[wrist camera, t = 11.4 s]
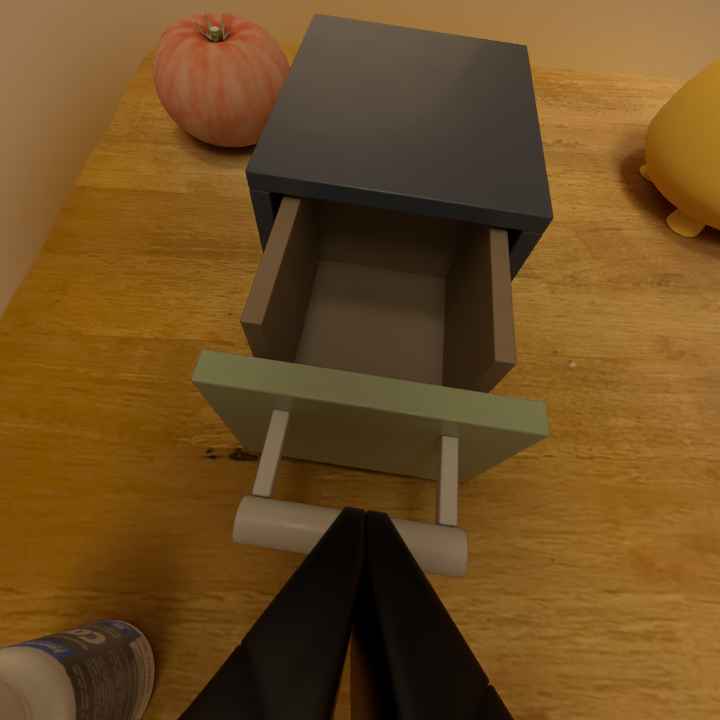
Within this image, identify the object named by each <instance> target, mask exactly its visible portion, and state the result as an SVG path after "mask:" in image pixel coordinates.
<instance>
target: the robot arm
mask: <svg viewBox="0 0 720 720" xmlns="http://www.w3.org/2000/svg"><path fill="white" fill-rule="evenodd" d="M350 635H351V640H350ZM349 640H350V686H351V720H514V719H513V717H512V716H511V714H510V713H509V711H508V709H507V708H506V706H505V705H504V703H503V701H502V700H501V698H500V696H499V695H498V693H497V692H496V690H495V688H494V687H493V686H492V685H488V684H489V679H488V677H487V676H486V674H485V672H484V671H483V669H482V667H481V666H480V664H479V662H478V661H477V659H476V658H475V656H474V654H473V653H472V651H471V649H470V648H469V646H468V645H467V643H466V641H465V640H464V638H463V636H462V635H461V633H460V631H459V630H458V628H457V627H456V625H455V623H454V622H453V620H452V618H451V617H450V615H449V614H448V612H447V610H446V609H445V607H444V605H443V604H442V602H441V600H440V599H439V597H438V596H437V594H436V592H435V591H434V589H433V587H432V586H431V584H430V582H429V581H428V579H427V578H426V576H425V574H424V573H423V571H422V569H421V568H420V566H419V565H418V563H417V561H416V560H415V558H414V556H413V555H412V553H411V551H410V550H409V548H408V547H407V545H406V543H405V542H404V540H403V538H402V537H401V535H400V533H399V532H398V530H397V529H396V527H395V525H394V524H393V522H392V520H391V519H390V517H389V516H388V514H386V513H384V512H378V511H371V510H368V511H367V512H366V513H365V511H364V510H363V509H358V508H352V507H345V508H344V509H343V510H342V511H341V512H340V514H339V515H338V516H337V518H336V519H335V520H334V522H333V523H332V524H331V525H330V527H329V528H328V529H327V531H326V532H325V533H324V534H323V536H322V537H321V538H320V540H319V541H318V542H317V544H316V545H315V546H314V547H313V549H312V550H311V551H310V553H309V554H308V555H307V557H306V558H305V559H304V560H303V562H302V563H301V564H300V566H299V567H298V568H297V570H296V571H295V572H294V573H293V575H292V576H291V577H290V579H289V580H288V581H287V582H286V584H285V585H284V586H283V588H282V589H281V590H280V592H279V593H278V594H277V595H276V597H275V598H274V599H273V601H272V602H271V603H270V605H269V606H268V607H267V608H266V610H265V611H264V612H263V614H262V615H261V616H260V617H259V619H258V620H257V621H256V623H255V624H254V625H253V627H252V628H251V629H250V630H249V632H248V633H247V634H246V636H245V637H244V638H243V640H242V641H241V645H238V646H237V647H236V648H235V649H234V651H233V652H232V653H231V655H230V656H229V657H228V659H227V660H226V661H225V662H224V664H223V665H222V666H221V668H220V669H219V670H218V671H217V673H216V674H215V675H214V676H213V678H212V679H211V680H210V681H209V682H208V684H207V685H206V686H205V687H204V689H203V690H202V691H201V692H200V693H199V695H198V696H197V697H196V698H195V700H194V701H193V702H192V703H191V704H190V706H189V707H188V708H187V709H186V710H185V711H184V713H183V714H182V715H181V716H180V717H179V718H178V719H177V720H333V719H334V714H335V709H336V704H337V699H338V694H339V690H340V685H341V680H342V675H343V670H344V666H345V661H346V656H347V651H348V645H349Z"/></svg>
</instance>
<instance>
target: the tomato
mask: <svg viewBox="0 0 720 720" xmlns="http://www.w3.org/2000/svg"><path fill="white" fill-rule="evenodd" d="M289 70H290V66H289V63H288V60H287V58H286V56H285V54H284V52H283V51H282V49H281V48H280V46H279V44H278V43H277V42H276V40H275V39H274V38H273V37H272V36H271V35H270V34H269V33H268V32H267V31H266V30H265V29H263V28H262V27H260V26H258V25H256V24H254V23H252V22H250V21H248V20H246V19H244V18H241V17H238V16H235V15H230V14H220V15H219V14H200V15H195V16H192V17H190V18H188V19H185V20H181V21H179V22H177V23H175V24H174V25H173V26H171V27H170V28H168V29H167V30H166V31H165V32H164V33H163V34H162V36H161V38H160V40H159V42H158V44H157V47H156V51H155V54H154V58H153V78H154V83H155V87H156V91H157V94H158V96H159V98H160V101H161V103H162V105H163V107H164V108H165V110H166V111H167V113H168V114H169V115H170V116H171V118H172V119H173V120H174V121H175V122H176V123H177V124H178V125H179V126H180V127H181V128H183V129H184V130H185V131H186V132H188V133H189V134H191V135H192V136H194V137H196V138H197V139H199V140H202V141H204V142H207V143H210V144H213V145H217V146H223V147H244V146H249V145H252V144H256V143H258V141H259V138H260V136H261V134H262V132H263V129H264V127H265V125H266V123H267V120H268V118H269V116H270V114H271V111H272V109H273V107H274V104H275V102H276V100H277V98H278V95H279V93H280V91H281V89H282V86H283V84H284V82H285V80H286V77H287V75H288V73H289Z"/></svg>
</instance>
